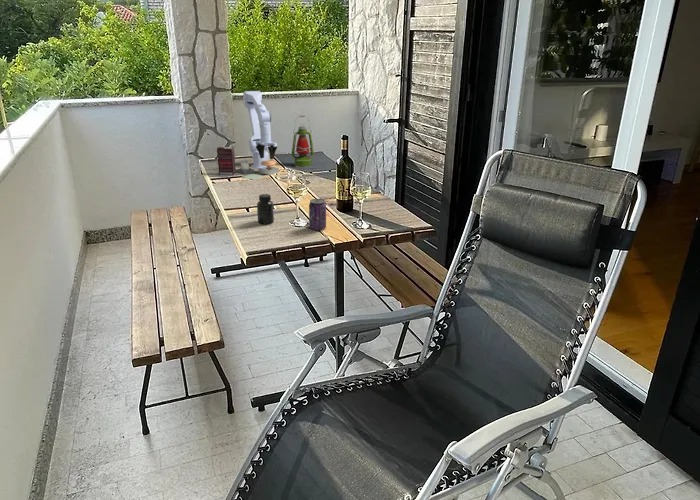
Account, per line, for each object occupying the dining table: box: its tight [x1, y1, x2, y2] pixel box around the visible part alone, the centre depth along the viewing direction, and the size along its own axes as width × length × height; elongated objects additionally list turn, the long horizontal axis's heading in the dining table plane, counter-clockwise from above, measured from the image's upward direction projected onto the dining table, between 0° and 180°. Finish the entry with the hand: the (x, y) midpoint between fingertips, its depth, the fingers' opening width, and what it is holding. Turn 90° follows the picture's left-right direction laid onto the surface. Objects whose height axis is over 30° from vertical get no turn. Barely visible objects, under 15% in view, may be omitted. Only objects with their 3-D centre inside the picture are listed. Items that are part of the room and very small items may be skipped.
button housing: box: [258, 166, 280, 176], centre depth 304 cm, size 8×8×3 cm
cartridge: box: [240, 159, 250, 171], centre depth 304 cm, size 4×4×6 cm
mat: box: [241, 173, 265, 181], centre depth 296 cm, size 9×9×1 cm
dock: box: [236, 167, 259, 176], centre depth 305 cm, size 10×10×2 cm
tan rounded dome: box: [261, 159, 277, 169], centre depth 303 cm, size 8×8×4 cm
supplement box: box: [216, 146, 237, 177], centre depth 295 cm, size 9×5×16 cm, turn 84°
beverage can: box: [308, 198, 327, 231], centre depth 221 cm, size 7×7×12 cm
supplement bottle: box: [256, 193, 275, 226], centre depth 226 cm, size 7×7×12 cm
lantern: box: [291, 115, 315, 167], centre depth 316 cm, size 14×11×30 cm
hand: (267, 158), depth 300 cm, fingers open, 7 cm apart
